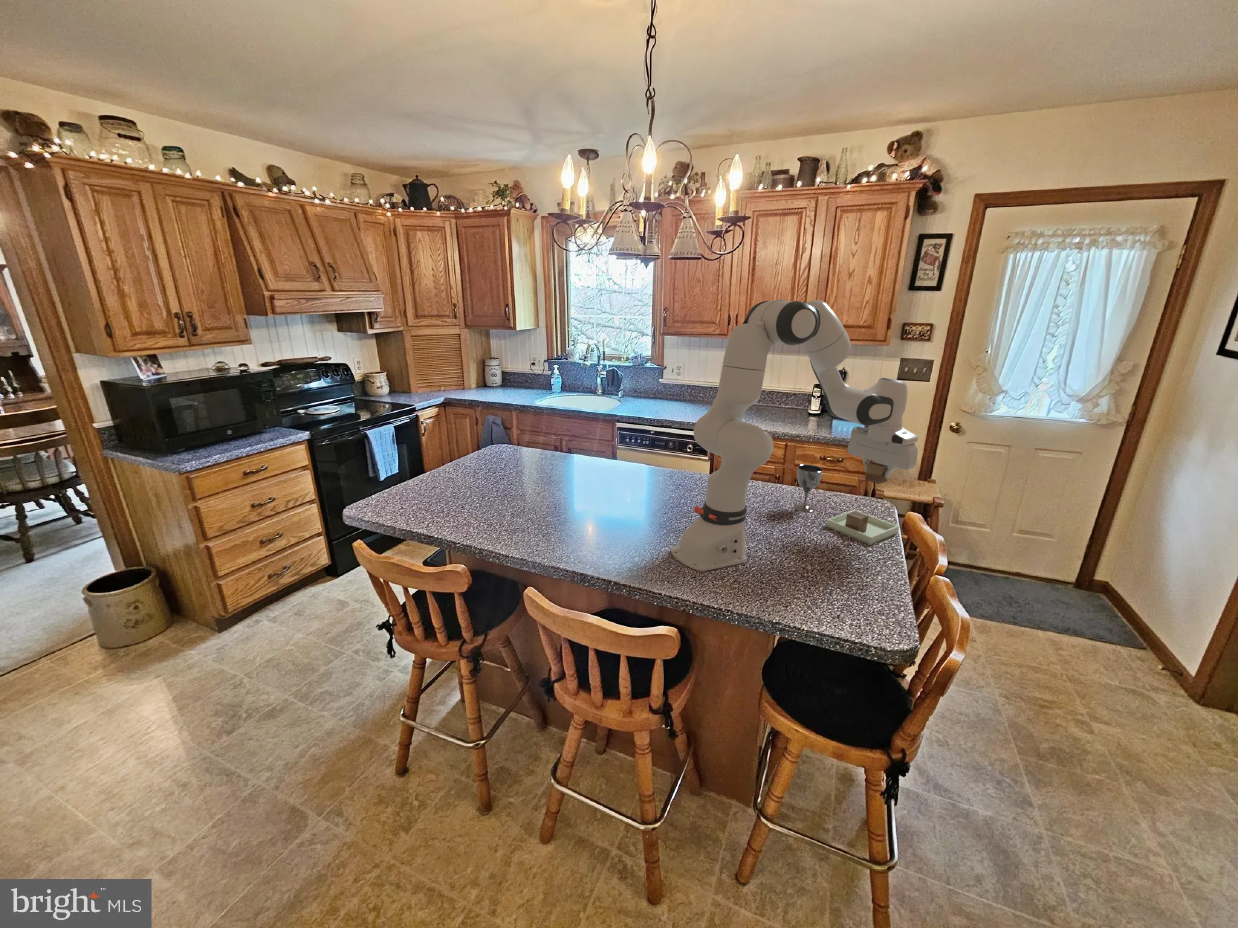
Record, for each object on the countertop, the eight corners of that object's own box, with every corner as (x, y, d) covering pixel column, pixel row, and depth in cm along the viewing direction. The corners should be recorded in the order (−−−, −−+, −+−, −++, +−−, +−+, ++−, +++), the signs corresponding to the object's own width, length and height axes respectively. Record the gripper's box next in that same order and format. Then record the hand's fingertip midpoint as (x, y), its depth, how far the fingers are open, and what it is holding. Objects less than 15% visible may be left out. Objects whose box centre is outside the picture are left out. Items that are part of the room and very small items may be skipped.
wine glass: (818, 513, 171) (824, 472, 167) (794, 511, 173) (799, 470, 168) (814, 504, 179) (820, 465, 174) (791, 502, 180) (796, 463, 175)
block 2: (878, 484, 152) (881, 467, 150) (865, 479, 156) (867, 463, 154) (887, 481, 154) (890, 464, 152) (873, 476, 158) (876, 460, 156)
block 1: (857, 535, 155) (860, 518, 153) (844, 529, 158) (847, 513, 156) (865, 531, 157) (868, 515, 155) (852, 526, 161) (855, 510, 159)
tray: (869, 545, 150) (871, 537, 149) (825, 526, 162) (827, 519, 161) (897, 533, 157) (899, 526, 157) (853, 516, 170) (854, 509, 169)
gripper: (846, 426, 156) (840, 467, 161) (912, 441, 140) (903, 487, 145) (858, 423, 160) (852, 464, 164) (924, 438, 143) (915, 482, 148)
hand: (876, 475), depth 154 cm, fingers closed on block 2, 4 cm apart
